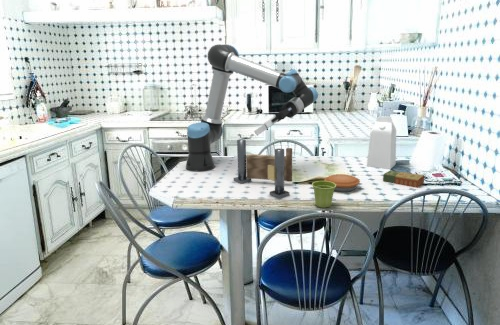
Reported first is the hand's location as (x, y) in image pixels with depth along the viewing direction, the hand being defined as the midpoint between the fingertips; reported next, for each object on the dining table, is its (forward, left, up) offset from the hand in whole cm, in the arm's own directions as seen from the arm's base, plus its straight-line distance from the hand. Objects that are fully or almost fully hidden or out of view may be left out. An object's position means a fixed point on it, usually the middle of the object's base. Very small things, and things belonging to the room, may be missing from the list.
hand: (260, 129), depth 193 cm
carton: (+66, 0, -24) cm, 70 cm away
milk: (+60, +29, -24) cm, 71 cm away
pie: (+38, -11, -24) cm, 46 cm away
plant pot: (+30, -34, -24) cm, 51 cm away
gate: (+5, -8, -22) cm, 24 cm away
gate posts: (+2, -16, -24) cm, 28 cm away
